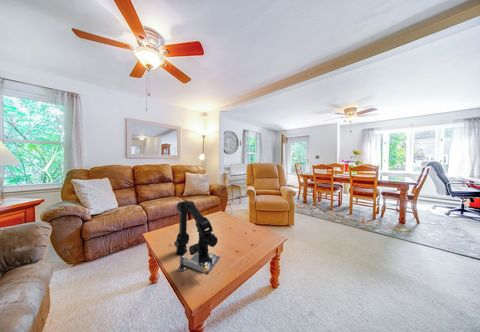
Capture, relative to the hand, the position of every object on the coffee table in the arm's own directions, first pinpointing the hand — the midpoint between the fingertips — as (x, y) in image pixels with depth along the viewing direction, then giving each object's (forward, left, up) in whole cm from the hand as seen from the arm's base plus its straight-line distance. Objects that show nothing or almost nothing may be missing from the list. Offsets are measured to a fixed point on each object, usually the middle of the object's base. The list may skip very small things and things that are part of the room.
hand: (203, 264), depth 98 cm
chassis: (-5, +7, -4) cm, 9 cm away
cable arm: (-3, -5, 0) cm, 5 cm away
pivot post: (-14, -3, -4) cm, 15 cm away
